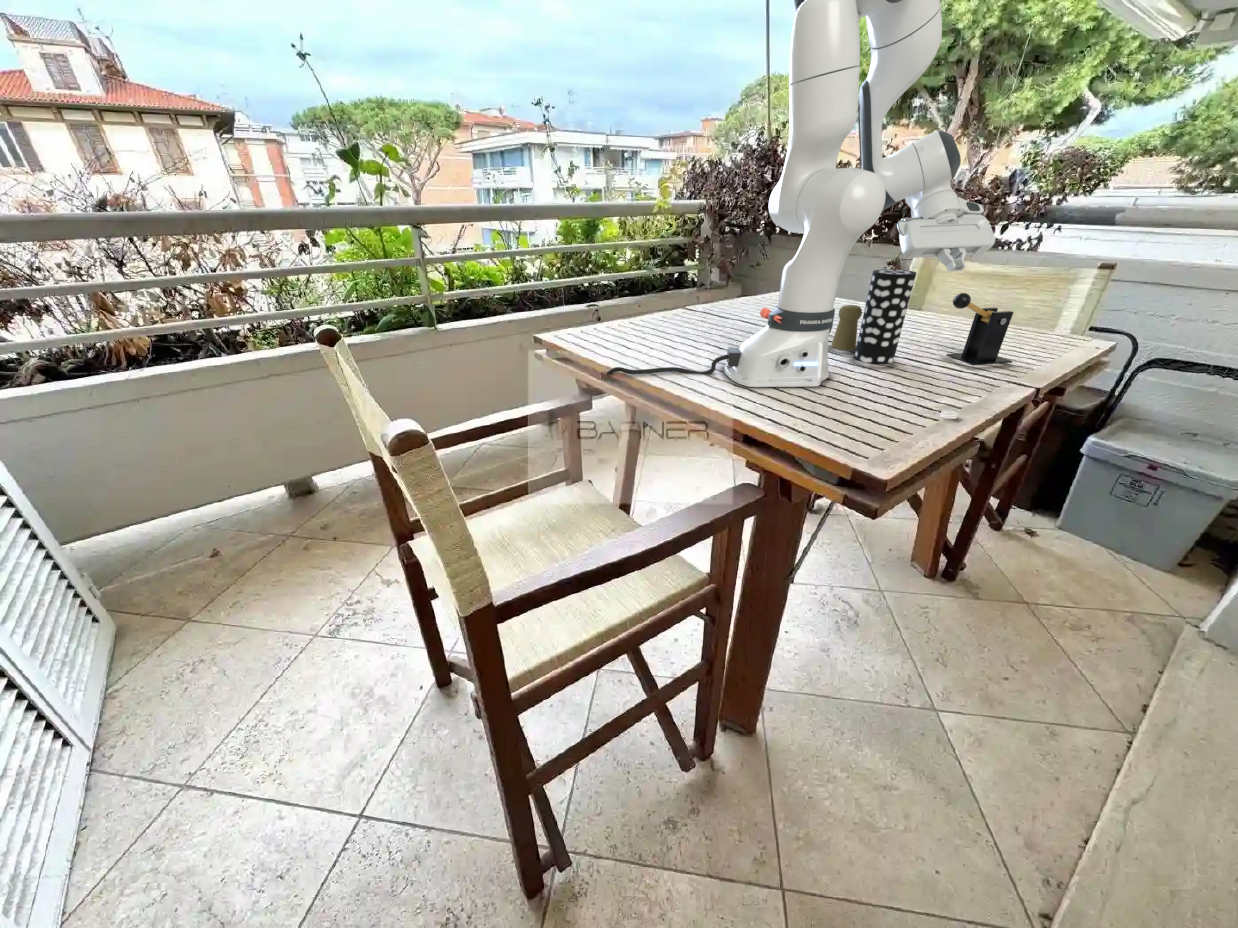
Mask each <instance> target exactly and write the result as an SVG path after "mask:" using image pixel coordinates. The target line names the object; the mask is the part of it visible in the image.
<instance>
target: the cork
mask: <svg viewBox="0 0 1238 928" xmlns="http://www.w3.org/2000/svg"><path fill="white" fill-rule="evenodd" d="M862 314H863V310H862V307H861V306H858V305H855V304H845V305H843V306H841V307H840V308H839V310H838V318H839V320H838V322H837V323H838V324H837V327H836V330H835V333H834V335H833V338H832V341H831V344H830V347H831V348H832V349H835V350H840V351H852V350H856V346H857V339H858V338H857V336H858V326H859V325H858V323H859V320H860V319H861V317H862V316H863V315H862Z"/></svg>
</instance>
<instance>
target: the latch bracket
mask: <svg viewBox="0 0 1238 928" xmlns="http://www.w3.org/2000/svg"><path fill="white" fill-rule="evenodd" d="M980 308H981V309H983V310H985V311H986V312H987V311H988V310H990V311H994V312H992V314H991V316H990V319H989V322H988V324H986V323H984V322H983V321H981V319H982V316H981V315H979V314H977V313H976V312H975V313H974V314H975V315H974V317H973V320H972V323H971V326H970V329H969V331H968V335H967V337H966V338H967V339H966V342H965V345H964V347H963V350H962V352H957V353H955V352H954V353H946V354H945V356H947V357H949V358H952V359H954V360H957V361H960V362H961V363H965V364H968V365H970V366H985V365H995V364H996V365H997V364H1008V363H1010V364H1011V363H1013V360H1010V359H1008V358H1005V357H1002V356H999V353H1000V350H1001V348H1002V345H1003V342H1004V340H1005V337H1006V334H1007V332H1008V329H1009V326H1010V323H1011V321H1012V317H1013V315H1014V311H1012V310H1007V311H998V310H999V308H998V307H980Z"/></svg>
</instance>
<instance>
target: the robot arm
mask: <svg viewBox="0 0 1238 928" xmlns="http://www.w3.org/2000/svg"><path fill="white" fill-rule="evenodd" d="M792 1H793V3H792V5H793V10H794V19H793V25H792V31H791V40H790V49H789V50H790V51H789V61H788V62H789V63H788V64H789V65H788V66H789V67H788V85H789V86H788V109H789V110H788V113H789V114H788V120H789V121H788V129H789V130H788V142H787V149H786V154H785V159H784V164H783V168H782V171H781V174H780V178H779V180H778V182H777V183H776V185H775V186H774V188H773V189H772V191H771V194H770V196H769V200H768V214H769V217H770V219H771V221H772V222H773V224H775V226H777V227H780V228H781V229H783V230H785V231H787V232H789V233H793V234H802V239H801V241H800V244H799V246H798V249H797V251H796V253H795V255H794V256H793V258H792V259H790V260H789V261H788V262H787V263H785V265H784V266H783V268H782V272H781V278H780V279H781V280H780V285H779V293H778V301H777V305H776V306H775V308H774V309H772V310H771V309H769V308H767V307H762V308H761V310H759V316H760V317H761V318H763V319H766V320H767V324H765V326H763V327H762V328H760V330H758V331H756V333H754V334H753V335H751V336H750V337H749V338H747V339H745V340H744V341H743V342H741V344H740V345H739V347H727V351H726V354H724V355H721V356H718V357H716V358H714V359H713V360H712V362H711V367H710V369H708V370H704V371H695V370H692V369H687V368H683V367H678V366H677V367H676V366H667V367H655V368H644V369H631V368H626V367H621V366H620V367H619V366H616V367H615V366H614V367H613V368H610V369H609V370H608V371H607V373H606V375H607V376H611V375H612V374H614V373H617V372H620V373H624V374H627V375H645V374H654V373H655V374H656V373H668V372H669V373H670V372H673V373H674V372H676V373H682V374H691V375H692V374H693V375H711V374H713V373H714V372H715V371H716V368H717V367H716V366H717V364H718V363H719V362H721V361H725V360H726V364H725V366H724V370H723V371H724V374H725V375H726V376H727V377H728V378H729V379H730V380H731V381H733V382H734V383H736V384H739V385H741V386H745V387H749V388H786V387H787V388H789V387H790V388H792V387H793V388H796V387H797V388H799V387H804V388H805V387H807V388H808V387H810V388H811V387H819V386H820V385H821V383H822V382H823V381H825V380H826V379H828V378H829V376H830V373H829V363H828V362H829V360H828V356H829V354H828V353H829V342H830V341H829V340H830V334H831V332H832V329H833V325H834V321H835V320H834V319H835V313H836V309H835V308H834V307H835V301H836V297H837V292H838V287H839V283H840V279H841V274H842V271H843V268H844V265H845V262H846V261H847V259H848V256H849V255H850V253H851V251H852V249H853V247H854V246H855V244H856V243H857V241H858V240H859V239H860V237H861V236H862V235H863V234H864V233H866V232H867V231H868V230H869V229H871V228H872V227H873V226H874V225H875V224H876V222H877V221H878V219H879V218H880V216H881V215H882V212H883V211H885V210H887V209H889V208H890V207H892V206H894V205H896V204H897V203H898V202H900V201H902V200H905V203H906V204H907V206H908V207H909V208H910V215H911V217H903V218H901V219H900V220H898V221H897V223H896V229H897V231H898V233H899V234H898V239H899V246H900V250H901V254H902V255H903V256H904V257H905V258H907V259H914V258H915V259H916V258H917V259H919V258H937V261H938V262H940V263H941V264H942V265H944V266H945V268H946V271H947V272H949V273H950V272H962V271H963V270H965V268H966V262H965V257H966V256H980V255H984V254H985V253H987V252H988V250H990V249H991V248H993V246H994V245H995V243H996V236H995V234H994V231H993V229H992V226H991V223H990V221H989V220H988V218H987V217H985V216H984V215H982V214H983V213H984V212H985V209H984V207H983V205H982V204H980V203H976V202H973V201H970V200H966V199H965V198H962V197H959V196H958V195H957V193H956V191H955V190H954V189H953V188H952V186H951V182H952V181H953V180H954V178H955V177H956V175H957V173H958V171H959V168H960V167H961V162H962V159H961V153H960V151H959V148H958V146H957V143H956V141H955V139H954V135H953V134H951V133H949V132H947V131H943V130H937V131H934V132H931V133H928V134H927V135H925V136H923V137H921V138H919V139H917V140H916V141H914V142H912V143H910V144H909V145H907V146H905V147H902V148H901V149H899V150H897V151H895V152H893V153H891V154H889V155H887V156H885V157H884V156H883V122H884V120H885V118H886V116H887V113H888V112H889V111H890V110H891V108H892V107H893V106H894V104H896V102H897V101H898V100H899V99H900V98H901V96H902V95H903V94H904V93H906V91H908V90H909V89H910V87H912V85H914V84H915V83H916V82H918V80H919V79H920V78H921V77H922V76H923V75H924V73H925V72H926V71H927V69H928V68H929V67H930V65H931V64H932V62H933V61H934V59H935V56H936V55H937V53H938V51H939V48H940V46H941V43H942V38H943V18H942V17H943V16H942V9H941V0H792ZM861 18H865V20H866V31H867V37H868V38H867V39H868V43H869V48H870V57H871V58H870V65H869V70H868V73H867V76H866V78H865V79H864V81H863V82H862V84H861V85H860V69H861V68H860V65H861V38H860V37H861V35H860V19H861ZM857 120H858V122H857ZM857 123H858V139H859V140H858V143H859V145H858V146H859V167H841V168H840V167H839V168H837V162H838V158H839V154H840V151H841V148H842V146H843V144H844V141H845V139H846V138H847V137H848V136H849V134H851V132H852V131H853V130H854V128H855V126H856V124H857Z"/></svg>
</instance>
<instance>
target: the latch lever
mask: <svg viewBox="0 0 1238 928" xmlns="http://www.w3.org/2000/svg"><path fill="white" fill-rule="evenodd" d="M952 306H953V307H954V308H955V309H958V310H961V309H965V308H967V309H969V310H970V311H972V312H973V313H975V314H976V313H977V314H979V315H981V316H982V319H981V321H983V322H984V323H986V324H988V322H989V319H990V316H991V314H992V312H994V311H990V310H988V311H987V312H986V311H985V310H983V309H981V308H982V307H979V306H978V305H976V304H974V303H972V297H971V296H970V294H969V293H966V292H961V293H958V294H956V295H955V296H954V298H953V300H952Z"/></svg>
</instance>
